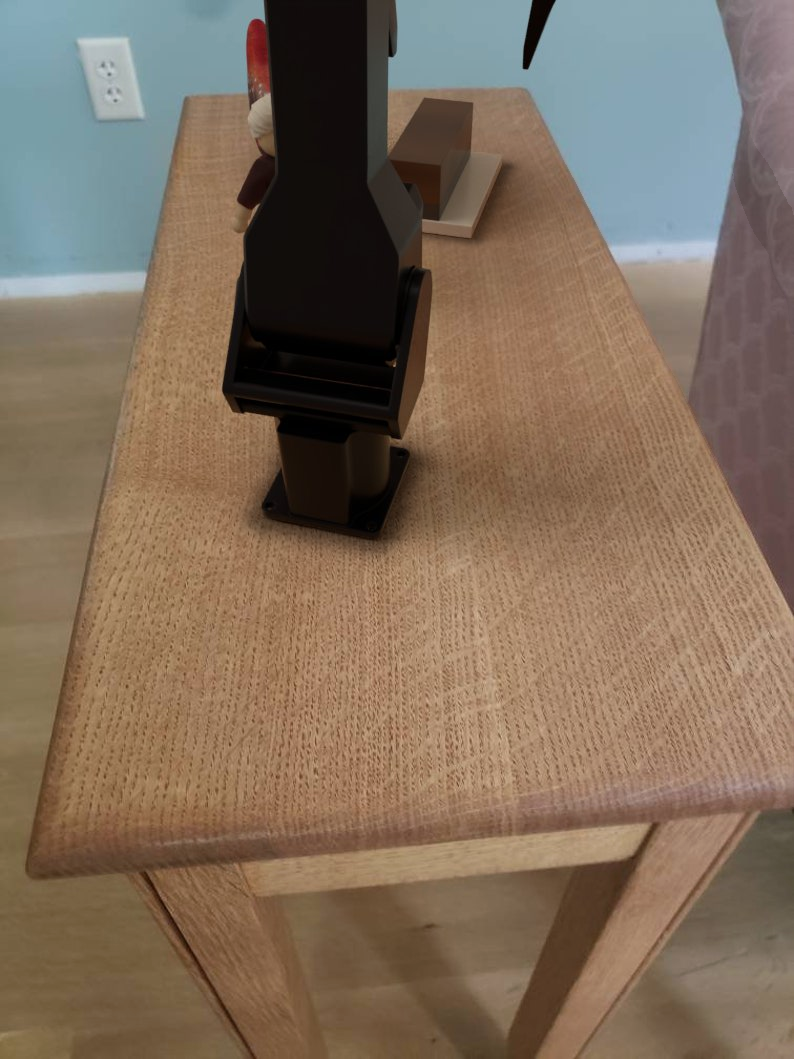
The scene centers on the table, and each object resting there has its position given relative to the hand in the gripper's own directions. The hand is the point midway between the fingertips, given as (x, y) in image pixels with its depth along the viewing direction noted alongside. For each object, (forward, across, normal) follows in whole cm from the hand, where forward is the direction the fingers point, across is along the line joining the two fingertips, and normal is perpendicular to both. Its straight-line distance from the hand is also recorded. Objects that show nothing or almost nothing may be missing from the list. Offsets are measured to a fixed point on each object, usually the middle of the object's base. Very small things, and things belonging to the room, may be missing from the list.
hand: (458, 61), depth 57 cm
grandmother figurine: (+11, +8, +12) cm, 18 cm away
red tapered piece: (+11, +15, -2) cm, 19 cm away
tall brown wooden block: (+10, +2, -3) cm, 10 cm away
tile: (+11, +2, -3) cm, 12 cm away
